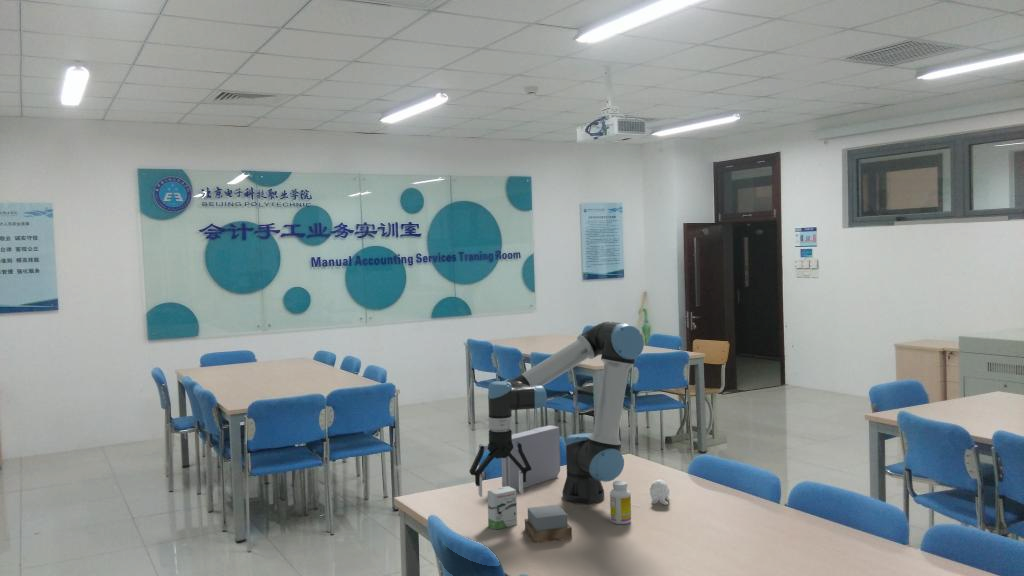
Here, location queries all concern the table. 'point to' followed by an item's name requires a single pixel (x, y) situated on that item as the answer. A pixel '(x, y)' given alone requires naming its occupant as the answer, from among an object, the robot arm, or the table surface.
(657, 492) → the white octopus figurine
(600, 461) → the robot arm
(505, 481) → the game console
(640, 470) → the table surface
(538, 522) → the slate-grey top block
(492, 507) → the ink box
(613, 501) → the supplement bottle
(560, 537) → the walnut base block
